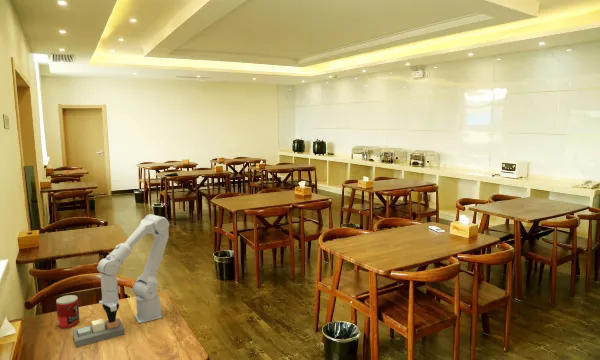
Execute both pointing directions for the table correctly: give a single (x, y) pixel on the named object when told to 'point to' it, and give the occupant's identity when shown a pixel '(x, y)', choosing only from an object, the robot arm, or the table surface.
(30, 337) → the table surface
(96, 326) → the key ivory
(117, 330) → the keypad base
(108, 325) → the key terracotta
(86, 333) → the key slate
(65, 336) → the table surface
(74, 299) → the canned food
